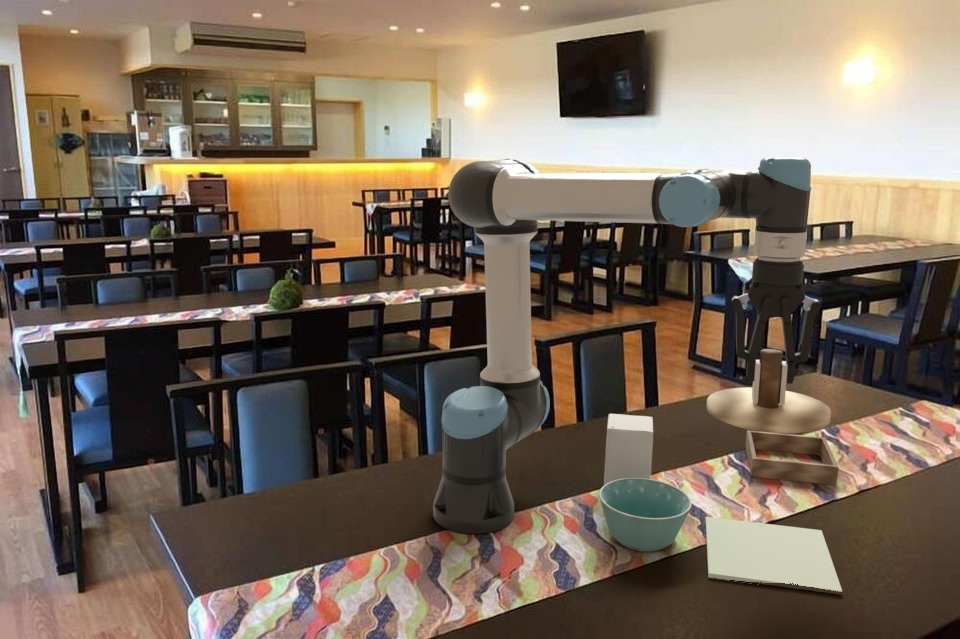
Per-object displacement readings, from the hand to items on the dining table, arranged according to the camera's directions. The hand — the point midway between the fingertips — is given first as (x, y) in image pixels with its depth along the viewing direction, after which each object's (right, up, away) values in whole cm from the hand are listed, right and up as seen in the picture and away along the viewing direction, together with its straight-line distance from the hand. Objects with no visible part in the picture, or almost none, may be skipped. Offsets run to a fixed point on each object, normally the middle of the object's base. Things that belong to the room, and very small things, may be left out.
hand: (767, 400), depth 130 cm
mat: (+2, -27, +6) cm, 28 cm away
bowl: (-18, -26, +11) cm, 33 cm away
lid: (0, -2, 0) cm, 2 cm away
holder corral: (+20, -18, +43) cm, 51 cm away
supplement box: (-18, -22, +29) cm, 40 cm away
